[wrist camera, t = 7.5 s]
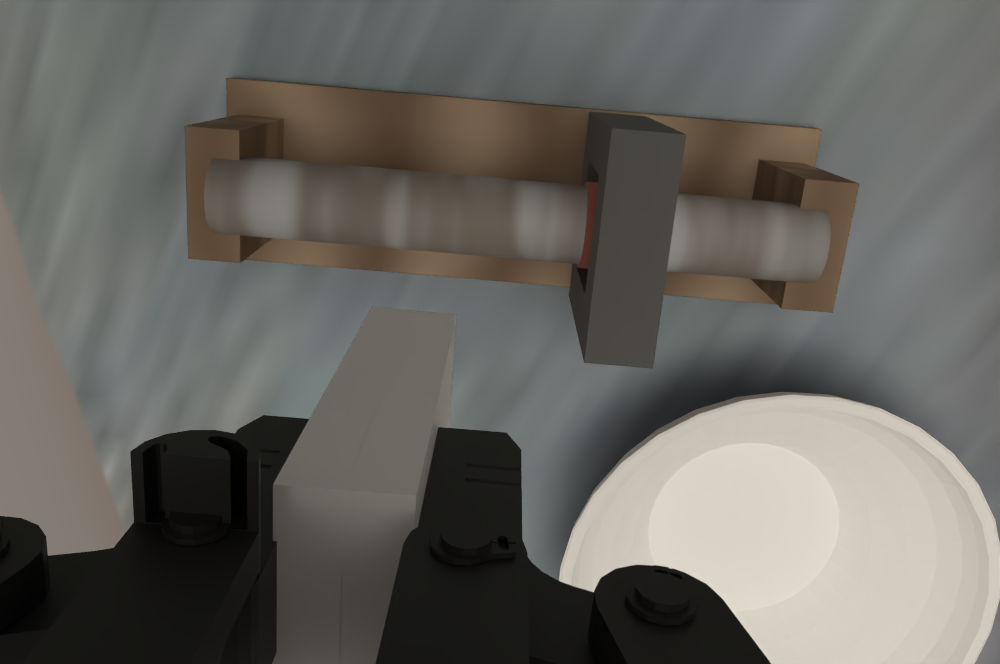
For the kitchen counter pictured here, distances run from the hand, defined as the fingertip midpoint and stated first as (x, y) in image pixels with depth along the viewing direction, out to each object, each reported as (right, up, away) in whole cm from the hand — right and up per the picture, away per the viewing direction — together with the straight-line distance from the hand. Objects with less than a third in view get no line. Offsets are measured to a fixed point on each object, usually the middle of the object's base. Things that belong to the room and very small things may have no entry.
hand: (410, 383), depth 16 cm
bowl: (+14, -9, +30) cm, 34 cm away
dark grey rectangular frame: (+6, +6, +22) cm, 24 cm away
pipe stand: (+2, +7, +25) cm, 26 cm away
